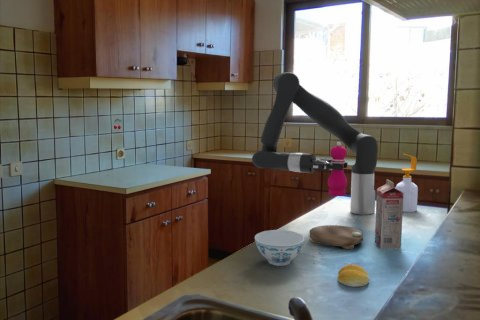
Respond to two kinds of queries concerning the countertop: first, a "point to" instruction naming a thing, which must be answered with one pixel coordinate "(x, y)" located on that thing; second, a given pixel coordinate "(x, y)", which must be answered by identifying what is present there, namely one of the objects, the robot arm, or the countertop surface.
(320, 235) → the round wooden disc
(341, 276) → the bread roll
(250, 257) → the countertop surface
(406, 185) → the soap bottle
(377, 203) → the juice carton
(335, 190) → the pepper mill
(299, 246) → the chinaware
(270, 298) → the countertop surface
